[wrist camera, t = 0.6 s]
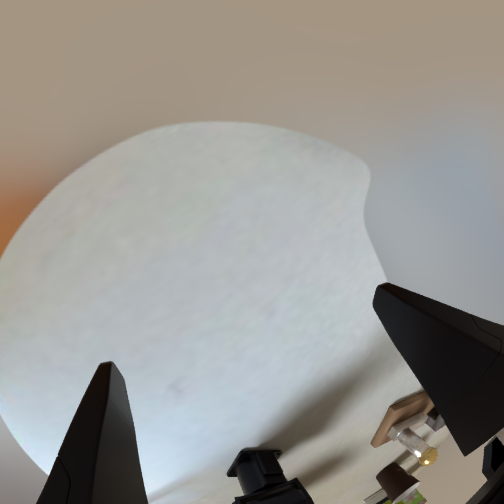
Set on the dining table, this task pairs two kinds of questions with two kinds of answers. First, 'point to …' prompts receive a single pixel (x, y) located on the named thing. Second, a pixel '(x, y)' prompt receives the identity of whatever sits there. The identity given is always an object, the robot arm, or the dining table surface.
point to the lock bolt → (414, 439)
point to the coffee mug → (396, 482)
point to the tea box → (380, 500)
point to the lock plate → (408, 416)
